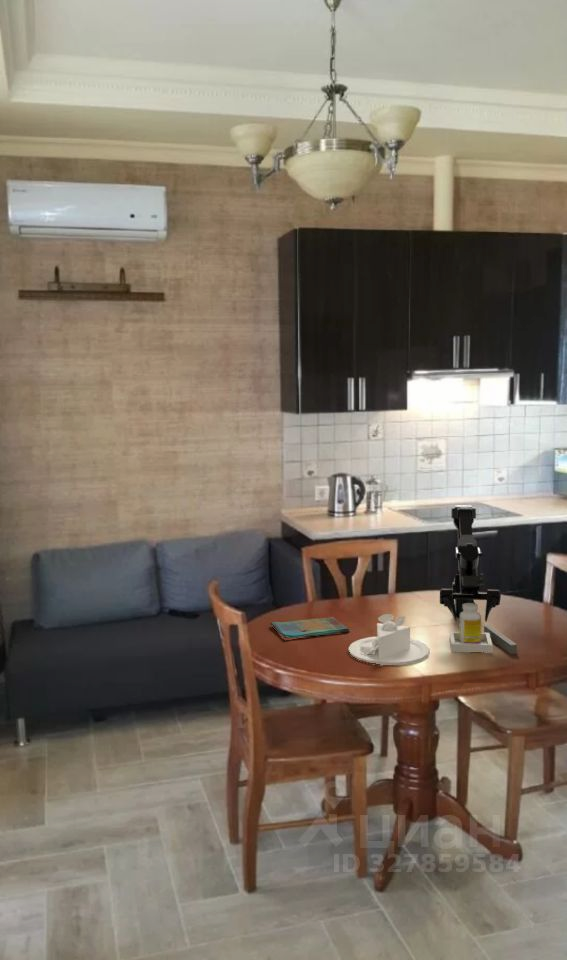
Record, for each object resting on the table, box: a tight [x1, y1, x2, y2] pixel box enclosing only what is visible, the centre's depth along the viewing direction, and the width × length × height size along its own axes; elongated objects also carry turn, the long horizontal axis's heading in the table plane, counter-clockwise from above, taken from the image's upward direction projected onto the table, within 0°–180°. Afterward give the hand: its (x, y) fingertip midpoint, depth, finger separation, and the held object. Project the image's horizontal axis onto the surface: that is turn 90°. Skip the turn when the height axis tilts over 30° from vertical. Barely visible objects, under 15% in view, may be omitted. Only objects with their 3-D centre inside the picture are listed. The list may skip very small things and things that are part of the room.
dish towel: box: [270, 616, 351, 638], centre depth 271 cm, size 17×23×2 cm
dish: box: [348, 613, 430, 667], centre depth 247 cm, size 25×25×11 cm
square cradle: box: [449, 631, 494, 654], centre depth 250 cm, size 12×12×2 cm
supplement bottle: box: [458, 603, 482, 644], centre depth 250 cm, size 7×7×13 cm
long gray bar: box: [483, 624, 518, 655], centre depth 252 cm, size 20×2×3 cm, turn 9°
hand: (470, 620), depth 248 cm, fingers open, 9 cm apart
